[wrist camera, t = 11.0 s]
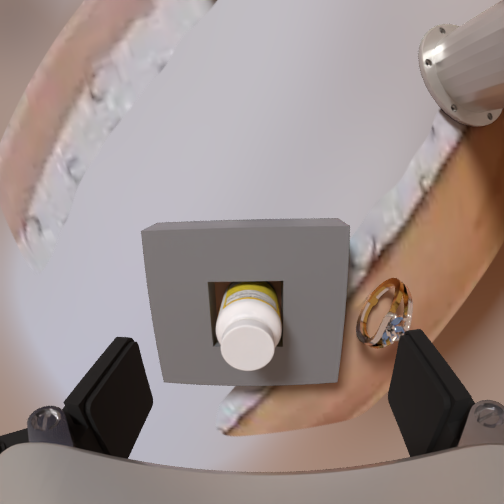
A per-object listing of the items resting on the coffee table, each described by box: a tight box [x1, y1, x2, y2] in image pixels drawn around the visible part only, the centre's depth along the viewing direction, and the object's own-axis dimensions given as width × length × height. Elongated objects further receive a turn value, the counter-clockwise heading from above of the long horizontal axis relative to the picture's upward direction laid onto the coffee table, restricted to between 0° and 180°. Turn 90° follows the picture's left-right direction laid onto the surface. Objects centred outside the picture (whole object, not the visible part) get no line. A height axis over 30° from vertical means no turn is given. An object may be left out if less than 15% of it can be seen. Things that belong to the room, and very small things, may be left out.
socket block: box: [141, 218, 350, 386], centre depth 31 cm, size 18×16×4 cm
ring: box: [356, 278, 413, 348], centre depth 29 cm, size 7×3×8 cm, turn 146°
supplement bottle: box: [216, 281, 282, 371], centre depth 27 cm, size 5×5×10 cm
